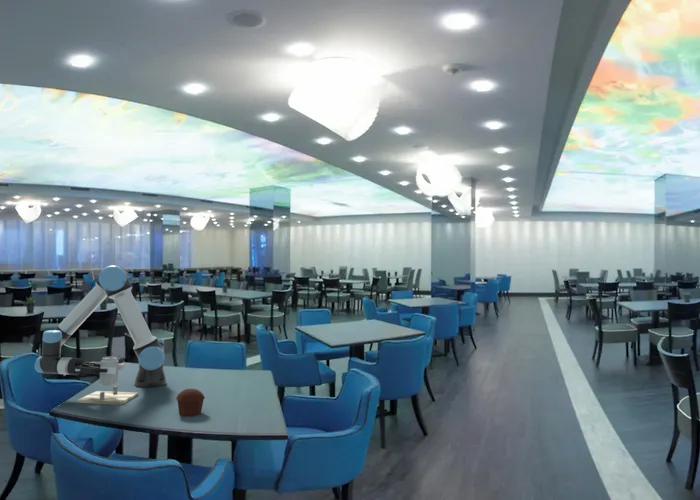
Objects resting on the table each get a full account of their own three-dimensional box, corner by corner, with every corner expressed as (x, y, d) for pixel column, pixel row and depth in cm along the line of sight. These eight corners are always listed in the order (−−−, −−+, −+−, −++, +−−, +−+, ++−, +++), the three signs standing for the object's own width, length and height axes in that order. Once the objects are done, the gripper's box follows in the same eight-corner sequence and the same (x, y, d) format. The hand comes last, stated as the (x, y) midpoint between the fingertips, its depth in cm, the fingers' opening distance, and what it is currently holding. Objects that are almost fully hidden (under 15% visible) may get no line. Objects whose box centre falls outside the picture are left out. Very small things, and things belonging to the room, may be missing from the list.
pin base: (97, 393, 241) (97, 384, 241) (138, 395, 240) (138, 386, 240) (76, 402, 225) (77, 393, 225) (121, 404, 224) (121, 395, 224)
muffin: (209, 411, 219) (210, 387, 219) (195, 418, 208) (196, 394, 208) (184, 408, 222) (185, 385, 222) (169, 415, 211) (170, 391, 211)
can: (121, 383, 235) (122, 356, 235) (108, 386, 228) (109, 359, 228) (108, 381, 238) (109, 355, 238) (95, 384, 230) (96, 357, 231)
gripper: (83, 369, 244) (130, 372, 243) (56, 379, 224) (107, 382, 222) (84, 354, 244) (130, 356, 243) (57, 362, 224) (108, 365, 223)
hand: (119, 368), depth 233 cm, fingers closed on can, 7 cm apart
